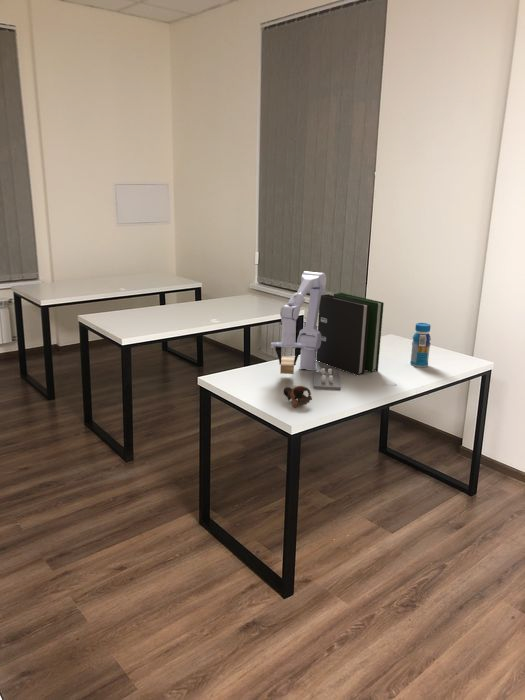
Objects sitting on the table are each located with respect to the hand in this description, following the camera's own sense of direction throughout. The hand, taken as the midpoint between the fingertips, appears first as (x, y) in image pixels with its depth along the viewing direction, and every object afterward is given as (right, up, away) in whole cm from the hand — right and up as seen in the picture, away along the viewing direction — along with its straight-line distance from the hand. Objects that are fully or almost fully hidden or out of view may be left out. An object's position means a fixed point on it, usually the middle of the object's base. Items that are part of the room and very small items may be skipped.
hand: (287, 364), depth 250 cm
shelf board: (0, -2, 0) cm, 2 cm away
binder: (+29, -2, +24) cm, 37 cm away
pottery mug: (+2, -15, -25) cm, 30 cm away
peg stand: (+17, -7, +1) cm, 18 cm away
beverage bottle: (+64, -1, +29) cm, 70 cm away
